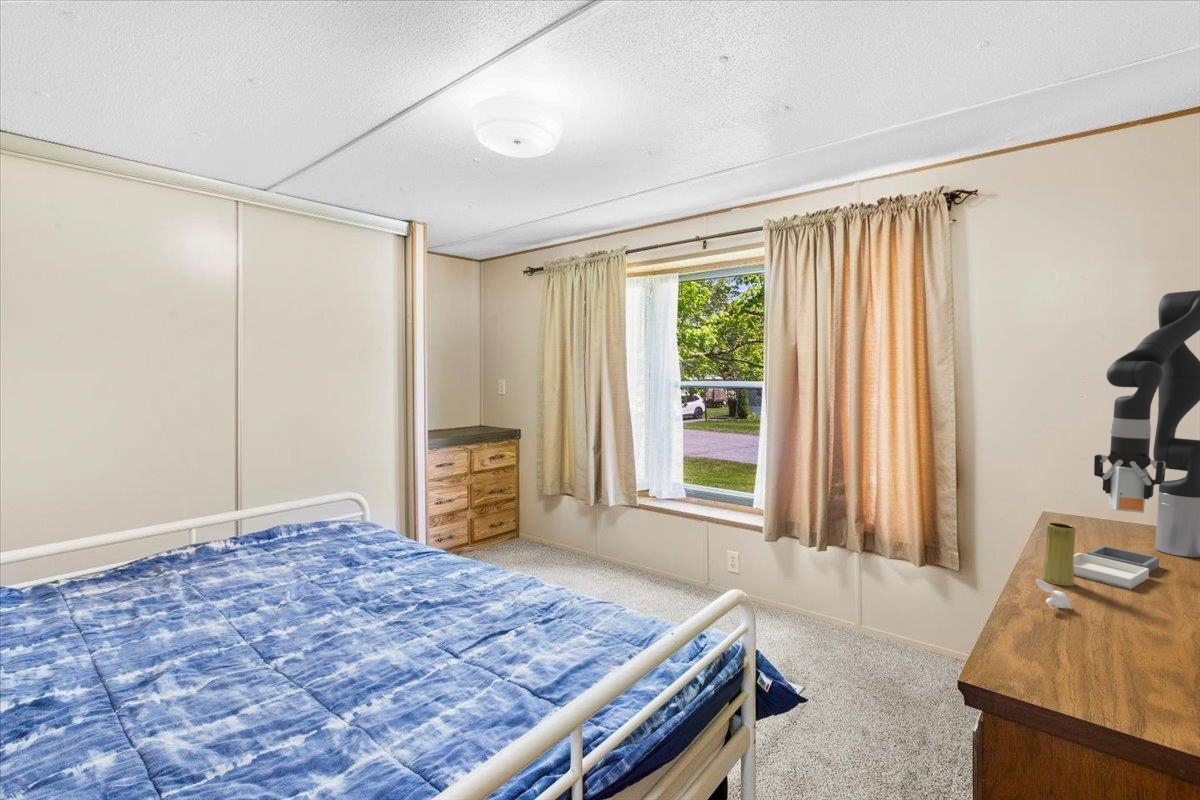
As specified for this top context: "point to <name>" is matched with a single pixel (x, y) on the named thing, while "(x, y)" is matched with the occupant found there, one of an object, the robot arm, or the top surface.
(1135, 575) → the tray
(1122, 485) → the skincare box
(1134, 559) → the frame
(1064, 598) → the rabbit figurine
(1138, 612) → the top surface
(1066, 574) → the vase
